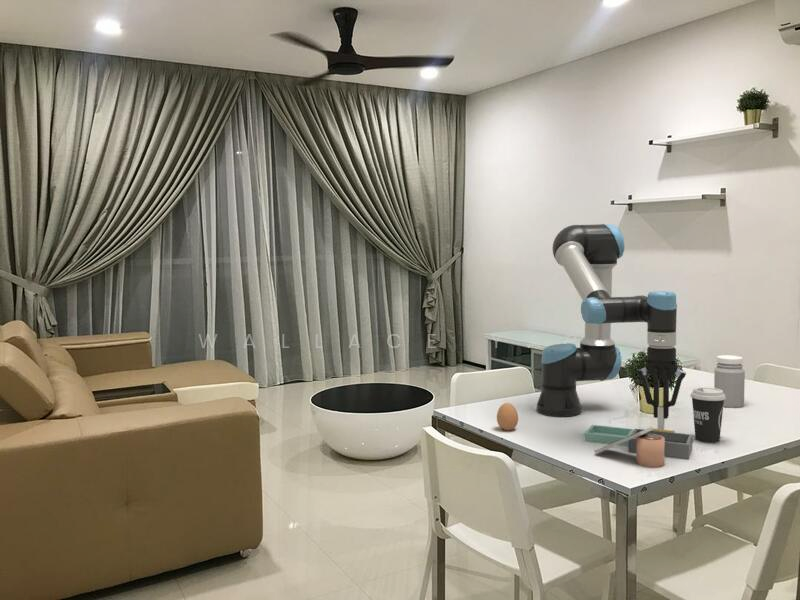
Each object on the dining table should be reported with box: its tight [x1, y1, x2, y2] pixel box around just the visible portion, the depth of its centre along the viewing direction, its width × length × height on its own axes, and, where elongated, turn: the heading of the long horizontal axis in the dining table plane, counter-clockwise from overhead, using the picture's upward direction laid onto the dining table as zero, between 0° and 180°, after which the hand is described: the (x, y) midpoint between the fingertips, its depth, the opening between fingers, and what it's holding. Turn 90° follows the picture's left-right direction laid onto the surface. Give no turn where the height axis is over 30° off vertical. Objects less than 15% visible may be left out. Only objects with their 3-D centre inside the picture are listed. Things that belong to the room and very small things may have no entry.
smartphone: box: [594, 426, 653, 454], centre depth 182 cm, size 7×16×1 cm, turn 45°
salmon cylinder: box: [635, 434, 665, 468], centre depth 177 cm, size 7×7×7 cm
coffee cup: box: [689, 386, 726, 444], centre depth 196 cm, size 10×10×15 cm
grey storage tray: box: [628, 427, 694, 460], centre depth 188 cm, size 16×11×5 cm
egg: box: [496, 402, 519, 431], centre depth 211 cm, size 7×7×9 cm
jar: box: [713, 354, 746, 409], centre depth 236 cm, size 10×10×18 cm
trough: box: [583, 424, 635, 448], centre depth 199 cm, size 13×11×2 cm
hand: (660, 429), depth 188 cm, fingers closed
